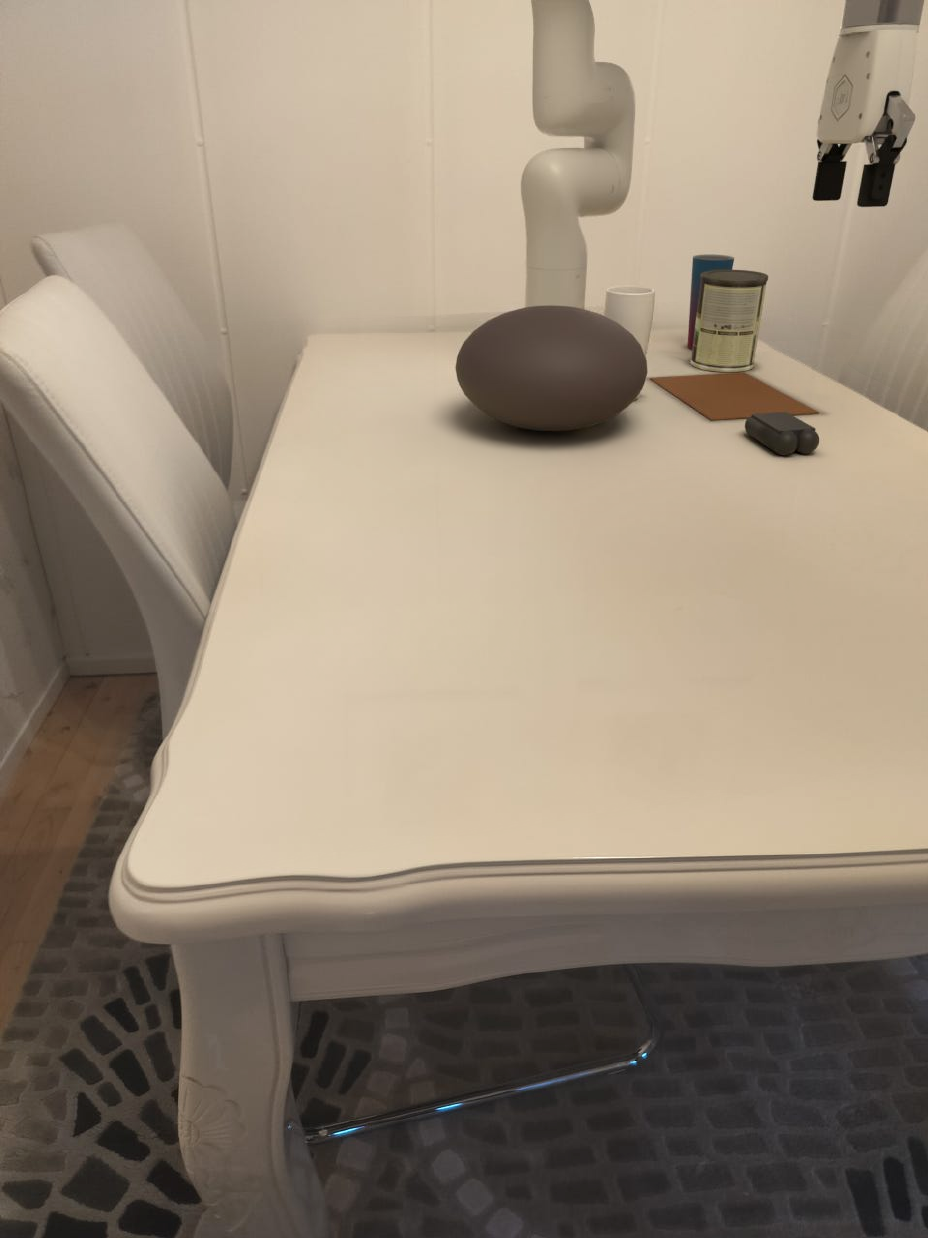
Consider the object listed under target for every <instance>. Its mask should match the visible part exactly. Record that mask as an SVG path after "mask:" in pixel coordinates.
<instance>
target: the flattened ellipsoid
mask: <svg viewBox="0 0 928 1238" xmlns="http://www.w3.org/2000/svg"><path fill="white" fill-rule="evenodd" d="M455 375H456V379H457V382H458V385H459V386H460V388H461V390H462V392H463V395H464V396H465V397H466V398H467V399H468V400H469V401H470V403H472V405H474V406H475V407H476V408H477V409H478V410H479V411H481V412H483V413H484V414H485V415H487V416H489V417H491V418H493V419H494V420H496V421H499V422H501V423H503V424H507V425H509V426H513V427H516V428H520V429H526V430H532V431H543V432H563V431H564V432H565V431H573V430H574V431H575V430H579V429H580V430H581V429H584V428H589V427H591V426H594V425H598V424H601V423H603V422H605V421H608V420H610V419H612V418H613V417H615V416H617V415H618V414H620V413H622V412H624V410H626V409H627V408H628V407H629V406H630V405H631V404H632V403H634V402H635V401H636V400H637V399H638V398H637V396H638V395H639V393H640V394H641V392H642V390H643V388H644V387H645V383H646V381H647V376H648V360H647V357H646V358H645V355H644V352H643V350H642V347H641V345H640V344H639V342H638V341H637V340H636V339H635V337H634V336H633V335H632V334H631V333H630V332H628V331H627V330H626V329H625V328H624V327H622V326H621V325H620V324H619V323H617V322H615V321H613V320H611V319H609V318H607V317H605V316H604V314H601V313H597V312H595V311H592V310H589V309H585V308H584V309H582V308H577V307H569V306H555V305H549V306H532V307H525V308H524V307H522V308H518V309H513V310H510V311H506V312H503V313H501V314H499V315H497V316H495V317H492V318H490V319H488V320H487V321H485V322H484V323H483V324H481V325H480V326H478V327H476V329H474V330H473V331H472V332H471V333H470V334H469V335H468V337H467V338H466V339H464V341H463V343H462V345H461V347H460V349H459V351H458V354H457V355H456V362H455ZM636 398H637V399H636ZM635 399H636V400H635Z"/></svg>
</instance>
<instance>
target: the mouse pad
mask: <svg viewBox="0 0 928 1238" xmlns="http://www.w3.org/2000/svg"><path fill="white" fill-rule="evenodd" d="M649 380H650V381H652V382H653V383H655V384H656V385H658V386H659V387H661V388H662V389H663V390H665V391H667V392H668V393H669V394H671V395H672V396H674V397H675V398H677V399H678V400H680V401H681V402H683V403H684V404H686V405H687V406H688V407H690V408H691V409H693V410H695V411H696V412H697V413H699V414H700V415H702V416H703V417H705V418H706V419H707V420H709V421H724V420H725V421H726V420H740V419H747V418H748V417H749V416H751V415H752V414H755V413H761V414H764V413H774V412H787V413H789V414H791V415H793V416H801V415H802V416H803V415H815V414H819V411H818V410H816V409H814V408H812V407H810V406H809V405H806V404H804V403H803V402H801V401H799V400H797V399H796V398H793V397H791V396H790V395H788V394H786V393H784V392H782V391H780V390H778V389H776V388H774V387H773V386H771V385H769V384H767V383H765V382H763V381H762V380H759V379H757V378H755V377H754V376H751V375H750V374H748V373H746V372H726V373H712V374H695V375H692V374H691V375H677V376H675V375H674V376H657V377H649Z"/></svg>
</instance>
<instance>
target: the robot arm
mask: <svg viewBox="0 0 928 1238" xmlns="http://www.w3.org/2000/svg"><path fill="white" fill-rule="evenodd" d="M530 3H531V13H532V32H533V33H532V34H533V36H532V89H531V90H532V91H531V92H532V94H531V95H532V99H531V100H532V104H531V105H532V116H533V121H534V125H535V126H536V128H537V130H538V131H539V132H540V133H541V134H543V135H545V136H549V137H554V138H583V147H558V148H550V149H545V150H543V151H540V152H538V153H537V154H535V155H533V156H532V157H531V158H530V159H529V160H528V162H527V163H526V164H525V166H524V168H523V170H522V174H521V179H520V195H521V203H522V210H523V217H524V229H525V261H524V262H525V263H524V264H525V265H524V266H525V268H524V269H525V270H524V271H525V272H524V274H525V275H524V297H523V298H524V299H523V300H524V301H523V303H524V304H523V308H525V307H532V306H549V305H555V306H569V307H577V308H582V309H585V303H586V289H587V275H588V274H587V273H588V271H587V270H588V252H589V251H588V244H587V240H586V237H585V234H584V231H583V229H582V226H581V224H580V219H585V218H588V219H589V218H597V217H606V216H609V215H612V214H615V213H616V212H617V211H619V210H620V209H621V207H622V206H623V205H624V204H625V202H626V200H627V198H628V195H629V192H630V188H631V183H632V173H633V159H634V143H635V129H636V128H635V125H636V109H637V107H636V105H637V103H636V94H635V89H634V85H633V82H632V80H631V77H630V76H629V74H628V72H626V70H625V69H624V68H622V67H621V66H620V65H618V64H616V63H613V62H607V61H596V60H595V35H596V34H595V32H596V27H595V26H596V25H595V17H594V12H593V9H592V5H591V2H590V0H530ZM924 4H925V0H844V3H843V9H842V15H841V21H840V27H839V33H838V39H837V42H836V45H835V48H834V51H833V54H832V57H831V62H830V66H829V69H828V73H827V78H826V82H825V85H824V91H823V94H822V95H823V96H822V101H821V105H820V111H819V116H818V119H817V128H816V139H817V140H816V144H817V148H818V151H817V153H816V161H817V167H816V172H815V179H814V185H813V190H812V191H813V193H812V200H813V201H814V202H815V201H816V202H829V201H832V202H833V201H839V200H840V199H841V198H842V191H843V186H844V181H845V174H846V171H847V170H846V169H847V163H848V161H846V160H844V159H845V157H846V155H847V154H848V152H849V150H850V149H851V147H852V145H853V144H858V143H861V144H862V143H863V144H864V145H865V149H866V154H867V159H868V163H867V164H863V167H862V174H861V179H860V180H861V181H860V185H859V190H858V195H857V201H856V205H857V207H859V208H875V207H876V208H877V207H878V208H880V207H883V208H884V207H886V206H888V203H889V199H890V194H891V190H892V189H891V188H892V184H893V180H894V173H895V169H896V165H897V164H898V163H899V162H900V159H901V152H902V151H903V150H904V148H905V147H906V146H907V143H908V137H909V135H910V132H911V130H912V128H913V125H914V124H915V122H916V114H915V112H913V110H912V109H911V108H910V107H909V103H910V97H911V91H912V84H913V78H914V77H913V76H914V69H915V61H916V51H917V35H918V33H919V30H920V25H921V20H922V14H923V9H924ZM879 145H880V146H879Z"/></svg>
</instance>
